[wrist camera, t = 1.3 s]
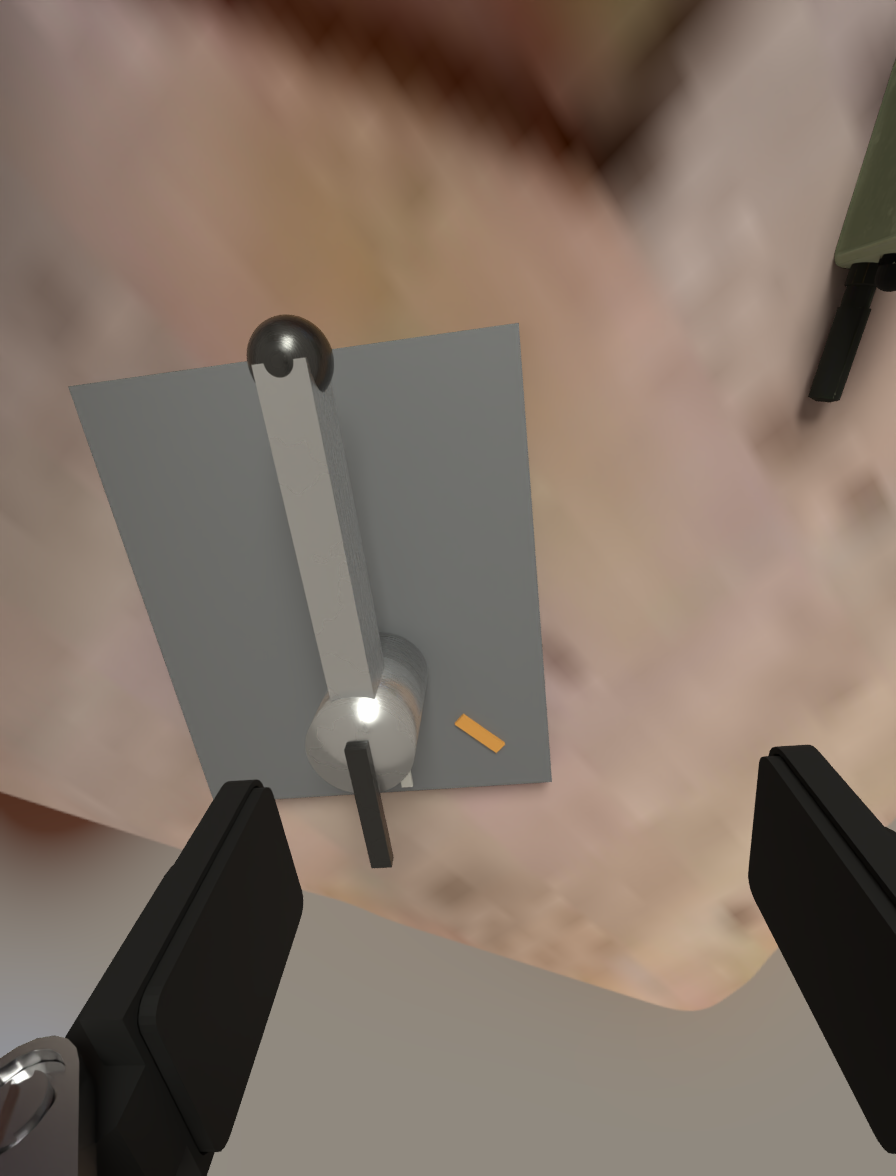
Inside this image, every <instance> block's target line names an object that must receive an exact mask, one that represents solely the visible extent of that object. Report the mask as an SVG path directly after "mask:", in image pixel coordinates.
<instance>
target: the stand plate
mask: <svg viewBox="0 0 896 1176" xmlns="http://www.w3.org/2000/svg"><path fill="white" fill-rule="evenodd" d="M332 352H333V356H334V373H333V377H332V380H331V383H332V388H333V393H334V398H335V404H336V409H337V414H338V419H339V425H340V430H341V435H342V441H343V446H344V451H345V456H346V462H347V467H348V472H349V478H350V483H351V488H352V493H353V499H354V504H355V509H356V514H357V520H358V525H359V530H360V536H361V541H362V546H363V551H364V557H365V562H366V567H367V572H368V578H369V583H370V588H371V594H372V599H373V604H374V609H375V615H376V620H377V625H378V631H379V632H386V633H392V634H396V635H399V636H401V637H404V638H406V639H407V640H409V641H410V642H412V643H413V644H414V645H415V646H416V647H417V648H418V649H419V650H420V652H421V653H422V654H423V656H424V658H425V661H426V663H427V667H428V680H427V686H426V692H425V698H424V704H423V709H422V715H421V721H420V727H419V733H418V739H417V745H416V751H415V757H414V762H413V765H412V768H411V770H410V772H409V773H408V775H407V776H406V777H405V778H404V780H402V781H401V782H400V783H399V784H397V785H396V786H395V787H393V788H391V789H388V790H386V791H383V792H398V791H414V790H430V789H446V788H462V787H478V786H494V785H509V784H525V783H541V782H552V777H551V763H550V749H549V736H548V722H547V708H546V694H545V680H544V667H543V653H542V639H541V625H540V611H539V598H538V584H537V570H536V556H535V542H534V529H533V515H532V501H531V487H530V473H529V460H528V446H527V432H526V418H525V404H524V391H523V377H522V363H521V349H520V335H519V323H515V324H508V325H501V326H494V327H487V328H479V329H472V330H465V331H458V332H451V333H444V334H437V335H430V336H423V337H416V338H409V339H402V340H395V341H387V342H380V343H373V344H366V345H359V346H352V347H345V348H338V349H332ZM69 390H70V393H71V396H72V399H73V401H74V404H75V407H76V410H77V413H78V416H79V419H80V421H81V424H82V427H83V430H84V433H85V436H86V438H87V441H88V444H89V447H90V450H91V453H92V456H93V458H94V461H95V464H96V467H97V470H98V473H99V475H100V478H101V481H102V484H103V487H104V490H105V493H106V495H107V498H108V501H109V504H110V507H111V510H112V512H113V515H114V518H115V521H116V524H117V527H118V530H119V532H120V535H121V538H122V541H123V544H124V547H125V549H126V552H127V555H128V558H129V561H130V564H131V567H132V569H133V572H134V575H135V578H136V581H137V584H138V586H139V589H140V592H141V595H142V598H143V601H144V604H145V606H146V609H147V612H148V615H149V618H150V621H151V624H152V626H153V629H154V632H155V635H156V638H157V641H158V643H159V646H160V649H161V652H162V655H163V658H164V661H165V663H166V666H167V669H168V672H169V675H170V678H171V680H172V683H173V686H174V689H175V692H176V695H177V698H178V700H179V703H180V706H181V709H182V712H183V715H184V717H185V720H186V723H187V726H188V729H189V732H190V735H191V737H192V740H193V743H194V746H195V749H196V752H197V754H198V757H199V760H200V763H201V766H202V769H203V772H204V774H205V777H206V780H207V783H208V786H209V789H210V791H211V794H212V797H213V800H214V798H215V797H216V795H217V793H218V792H219V790H220V788H221V787H222V786H223V784H224V783H226V782H228V781H239V780H255V779H257V780H260V781H261V782H262V784H263V786H264V787H269V788H270V789H271V790H272V792H273V795H274V798H275V799H286V798H302V797H318V796H334V795H350V794H354V793H352V792H348V791H344V790H341V789H339V788H337V787H335V786H333V785H331V784H329V783H328V782H327V781H325V780H324V779H323V778H322V777H320V776H319V775H318V773H317V772H316V771H315V770H314V768H313V767H312V766H311V764H310V762H309V760H308V757H307V754H306V748H305V741H306V735H307V732H308V729H309V727H310V725H311V723H312V721H313V719H314V716H315V714H316V712H317V710H318V708H319V706H320V704H321V702H322V699H323V697H324V695H325V693H326V691H327V689H328V688H327V684H326V680H325V675H324V671H323V667H322V663H321V658H320V654H319V650H318V646H317V641H316V637H315V633H314V629H313V624H312V620H311V616H310V612H309V608H308V603H307V599H306V595H305V591H304V586H303V582H302V578H301V574H300V569H299V565H298V561H297V557H296V552H295V548H294V544H293V540H292V536H291V531H290V527H289V523H288V519H287V514H286V510H285V506H284V502H283V497H282V493H281V489H280V485H279V480H278V476H277V472H276V468H275V463H274V459H273V455H272V451H271V447H270V442H269V438H268V434H267V430H266V425H265V421H264V417H263V413H262V408H261V404H260V400H259V396H258V391H257V387H256V383H255V382H254V380H253V378H252V377H251V374H250V372H249V368H248V364H247V361H246V362H239V363H232V364H225V365H217V366H210V367H203V368H196V369H189V370H182V371H175V372H168V373H161V374H154V375H147V376H140V377H132V378H125V379H118V380H111V381H104V382H97V383H90V384H83V385H76V386H69ZM380 793H382V792H380Z"/></svg>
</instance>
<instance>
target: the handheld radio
mask: <svg viewBox="0 0 896 1176" xmlns="http://www.w3.org/2000/svg"><path fill="white" fill-rule="evenodd" d="M835 263H836V265H837V266H839V267H843V268H850V271H849V274H848V277H847V280H846V283H845V286H847V287H846V290H845V293H844V296H843V299H842V302H841V305H840V307H838V309H837V312H836V315H835V318H834V321H833V324H832V327H831V330H830V333H829V336H828V339H827V342H826V345H825V348H824V351H823V354H822V357H821V360H820V363H819V366H818V369H817V372H816V375H815V378H814V381H813V384H812V387H811V390H810V393H809V396H808V397H810V398H812V399H814V400H815V401H821V402H834V401H838V400H840V398H841V395H842V392H843V389H844V386H845V383H846V381H847V378H848V375H849V372H850V369H851V366H852V363H853V360H854V357H855V355H856V352H857V349H858V346H859V343H860V340H861V337H862V334H863V332H864V329H865V326H866V323H867V320H868V317H869V314H870V311H871V309H870V308H869V307H870V304H871V302H872V299H873V296H874V293H875V290H876V287H877V288H878V289H880V290H882V291H886V292H891V291H896V59H895V63H894V66H893V69H892V72H891V75H890V79H889V82H888V85H887V88H886V91H885V94H884V98H883V101H882V104H881V107H880V110H879V114H878V117H877V120H876V123H875V126H874V129H873V133H872V136H871V139H870V142H869V145H868V148H867V152H866V155H865V158H864V161H863V164H862V168H861V171H860V174H859V177H858V180H857V183H856V187H855V190H854V193H853V196H852V199H851V203H850V206H849V209H848V212H847V215H846V218H845V222H844V225H843V228H842V231H841V234H840V237H839V241H838V244H837V247H836V251H835Z"/></svg>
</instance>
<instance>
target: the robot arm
mask: <svg viewBox="0 0 896 1176" xmlns="http://www.w3.org/2000/svg"><path fill="white" fill-rule="evenodd" d="M748 879H749V885H750V889H751V892H752V895H753V897H754V900H755V902H756V904H757V906H758V908H759V910H760V911H761V913H762V915H763V917H764V919H765V921H766V923H767V925H768V927H769V929H770V931H771V933H772V935H773V937H774V939H775V941H776V943H777V945H778V947H779V949H780V950H781V952H782V955H783V957H784V958H785V960H786V962H787V964H788V966H789V968H790V970H791V972H792V974H793V976H794V978H795V980H796V982H797V984H798V986H799V988H800V990H801V992H802V994H803V996H804V998H805V1000H806V1002H807V1003H808V1005H809V1007H810V1009H811V1011H812V1013H813V1015H814V1017H815V1019H816V1021H817V1023H818V1025H819V1027H820V1029H821V1031H822V1033H823V1035H824V1037H825V1039H826V1041H827V1043H828V1045H829V1047H830V1048H831V1050H832V1053H833V1054H834V1056H835V1058H836V1060H837V1062H838V1064H839V1066H840V1068H841V1070H842V1072H843V1074H844V1076H845V1078H846V1080H847V1082H848V1084H849V1086H850V1088H851V1090H852V1092H853V1093H854V1096H855V1097H856V1099H857V1101H858V1103H859V1105H860V1107H861V1109H862V1111H863V1113H864V1115H865V1117H866V1119H867V1121H868V1123H869V1125H870V1127H871V1129H872V1131H873V1133H874V1134H875V1136H876V1138H877V1140H878V1142H879V1143H880V1144H881V1145H882V1147H883V1148H884V1149H885V1150H886V1151H887V1152H888V1153H892V1154H896V832H894V831H893V830H891V829H889V828H887V827H884V826H883V825H882V823H881V822H880V821H879V820H878V819H877V818H876V817H875V815H874V814H873V813H872V812H871V811H870V810H869V808H868V807H867V806H866V805H865V804H864V803H863V802H862V800H861V799H860V798H859V797H858V796H857V795H856V794H855V792H854V791H853V790H852V789H851V788H850V787H849V786H848V784H847V783H846V782H845V781H844V780H843V779H842V777H841V776H840V775H839V774H838V773H837V772H836V771H835V769H834V768H833V767H832V766H831V765H830V764H829V763H828V761H827V760H826V759H825V758H824V757H823V756H822V755H821V753H820V752H819V751H818V750H817V749H816V748H815V747H814V746H811V745H796V746H780V747H773V748H772V749H771V750H770V752H769V756H765V757H761V759H760V762H759V769H758V779H757V790H756V800H755V810H754V820H753V830H752V840H751V850H750V860H749V871H748ZM302 910H303V894H302V890H301V886H300V883H299V880H298V876H297V873H296V869H295V866H294V863H293V859H292V856H291V852H290V849H289V846H288V842H287V839H286V836H285V832H284V829H283V825H282V822H281V819H280V815H279V812H278V808H277V805H276V802H275V798H274V795H273V792H272V790H271V789H270V788H269V787H264V786H263V784H262V782H261V781H260V780H257V779H255V780H239V781H228V782H226V783H224V784H223V786H222V787H221V788H220V790H219V792H218V793H217V795H216V797H215V798H214V800H213V802H212V803H211V805H210V806H209V808H208V810H207V811H206V813H205V815H204V816H203V818H202V820H201V821H200V823H199V824H198V826H197V828H196V829H195V831H194V833H193V834H192V836H191V838H190V839H189V841H188V842H187V844H186V846H185V847H184V849H183V851H182V852H181V854H180V856H179V857H178V859H177V860H176V862H175V864H174V865H173V866H172V867H171V868H170V869H169V871H168V872H167V873H166V875H165V876H164V878H163V879H162V881H161V883H160V884H159V886H158V887H157V889H156V891H155V892H154V894H153V896H152V897H151V899H150V900H149V902H148V904H147V905H146V907H145V908H144V910H143V912H142V913H141V915H140V917H139V918H138V920H137V921H136V923H135V925H134V926H133V928H132V930H131V931H130V933H129V934H128V936H127V938H126V939H125V941H124V943H123V944H122V946H121V947H120V949H119V951H118V952H117V954H116V955H115V957H114V959H113V960H112V962H111V964H110V965H109V967H108V968H107V970H106V972H105V973H104V975H103V977H102V978H101V980H100V981H99V983H98V985H97V986H96V988H95V990H94V991H93V993H92V995H91V996H90V998H89V999H88V1001H87V1003H86V1004H85V1006H84V1007H83V1009H82V1011H81V1012H80V1014H79V1016H78V1017H77V1019H76V1020H75V1022H74V1024H73V1025H72V1027H71V1029H70V1030H69V1032H68V1033H67V1035H66V1037H65V1038H63V1037H58V1036H49V1037H43V1038H37V1039H35V1040H32V1041H30V1042H28V1043H26V1044H23V1045H21V1046H18V1047H17V1048H15V1049H14V1050H12V1051H11V1052H9V1053H7V1054H6V1055H4V1056H3V1057H2V1058H0V1176H207V1173H208V1170H209V1167H210V1164H211V1161H212V1158H213V1155H214V1152H219V1151H221V1150H222V1149H223V1148H224V1147H225V1145H226V1143H227V1142H228V1139H229V1137H230V1134H231V1131H232V1128H233V1125H234V1121H235V1119H236V1116H237V1113H238V1110H239V1107H240V1104H241V1101H242V1097H243V1094H244V1091H245V1088H246V1085H247V1082H248V1079H249V1076H250V1073H251V1069H252V1067H253V1064H254V1060H255V1057H256V1054H257V1051H258V1048H259V1045H260V1042H261V1039H262V1036H263V1033H264V1030H265V1026H266V1023H267V1020H268V1017H269V1014H270V1011H271V1008H272V1005H273V1002H274V999H275V996H276V992H277V989H278V986H279V983H280V980H281V977H282V974H283V971H284V968H285V965H286V961H287V959H288V955H289V952H290V949H291V946H292V943H293V940H294V937H295V934H296V931H297V928H298V925H299V922H300V918H301V915H302Z"/></svg>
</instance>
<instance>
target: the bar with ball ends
mask: <svg viewBox="0 0 896 1176" xmlns="http://www.w3.org/2000/svg"><path fill="white" fill-rule="evenodd" d="M247 364H248V368H249V372H250V374H251V377H252V378H253V380H254V382H255V383H256V387H257V391H258V396H259V400H260V404H261V408H262V413H263V417H264V421H265V425H266V430H267V434H268V438H269V442H270V447H271V451H272V455H273V459H274V463H275V468H276V472H277V476H278V480H279V485H280V489H281V493H282V497H283V502H284V506H285V510H286V514H287V519H288V523H289V527H290V531H291V536H292V540H293V544H294V548H295V552H296V557H297V561H298V565H299V569H300V574H301V578H302V582H303V586H304V591H305V595H306V599H307V603H308V608H309V612H310V616H311V620H312V624H313V629H314V633H315V637H316V641H317V646H318V650H319V654H320V658H321V663H322V667H323V671H324V675H325V680H326V684H327V688H328V689H327V691H326V693H325V695H324V697H323V699H322V702H321V704H320V706H319V708H318V710H317V712H316V714H315V716H314V719H313V721H312V723H311V725H310V727H309V729H308V732H307V735H306V741H305V748H306V754H307V757H308V760H309V762H310V764H311V766H312V767H313V768H314V770H315V771H316V772H317V773H318V775H319V776H320V777H322V778H323V779H324V780H325V781H327V782H328V783H329V784H331V785H333V786H335V787H337V788H339V789H341V790H344V791H348V792H352V793H354V795H355V799H356V804H357V808H358V812H359V817H360V821H361V825H362V829H363V834H364V838H365V842H366V846H367V851H368V855H369V859H370V863H371V868H386V867H392V863H393V858H394V857H393V852H392V847H391V843H390V838H389V833H388V829H387V824H386V819H385V815H384V810H383V805H382V801H381V796H380V792H383V791H386V790H388V789H391V788H393V787H395V786H396V785H397V784H399V783H400V782H401V781H402V780H404V778H405V777H406V776H407V775H408V773H409V772H410V770H411V768H412V765H413V762H414V757H415V751H416V745H417V739H418V733H419V727H420V721H421V715H422V709H423V704H424V698H425V692H426V686H427V680H428V667H427V663H426V661H425V658H424V656H423V654H422V653H421V652H420V650H419V649H418V648H417V647H416V646H415V645H414V644H413V643H412V642H410V641H409V640H407V639H406V638H404V637H401V636H399V635H396V634H392V633H386V632H379V631H378V625H377V620H376V615H375V609H374V604H373V599H372V594H371V588H370V583H369V578H368V572H367V567H366V562H365V557H364V551H363V546H362V541H361V536H360V530H359V525H358V520H357V514H356V509H355V504H354V499H353V493H352V488H351V483H350V478H349V472H348V467H347V462H346V456H345V451H344V446H343V441H342V435H341V430H340V425H339V419H338V414H337V409H336V404H335V398H334V393H333V388H332V383H331V380H332V377H333V373H334V356H333V352H332V349H331V346H330V344H329V342H328V340H327V338H326V337H325V335H324V334H323V333H322V332H321V330H320V329H319V328H318V327H317V326H315V325H314V324H313V323H311V322H310V321H308V320H306V319H304V318H301V317H299V316H295V315H278V316H274V317H271V318H269V319H267V320H265V321H264V322H262V323H261V324H260V325H259V326H258V327H257V328H256V329H255V331H254V332H253V334H252V336H251V338H250V340H249V343H248V347H247Z"/></svg>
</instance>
